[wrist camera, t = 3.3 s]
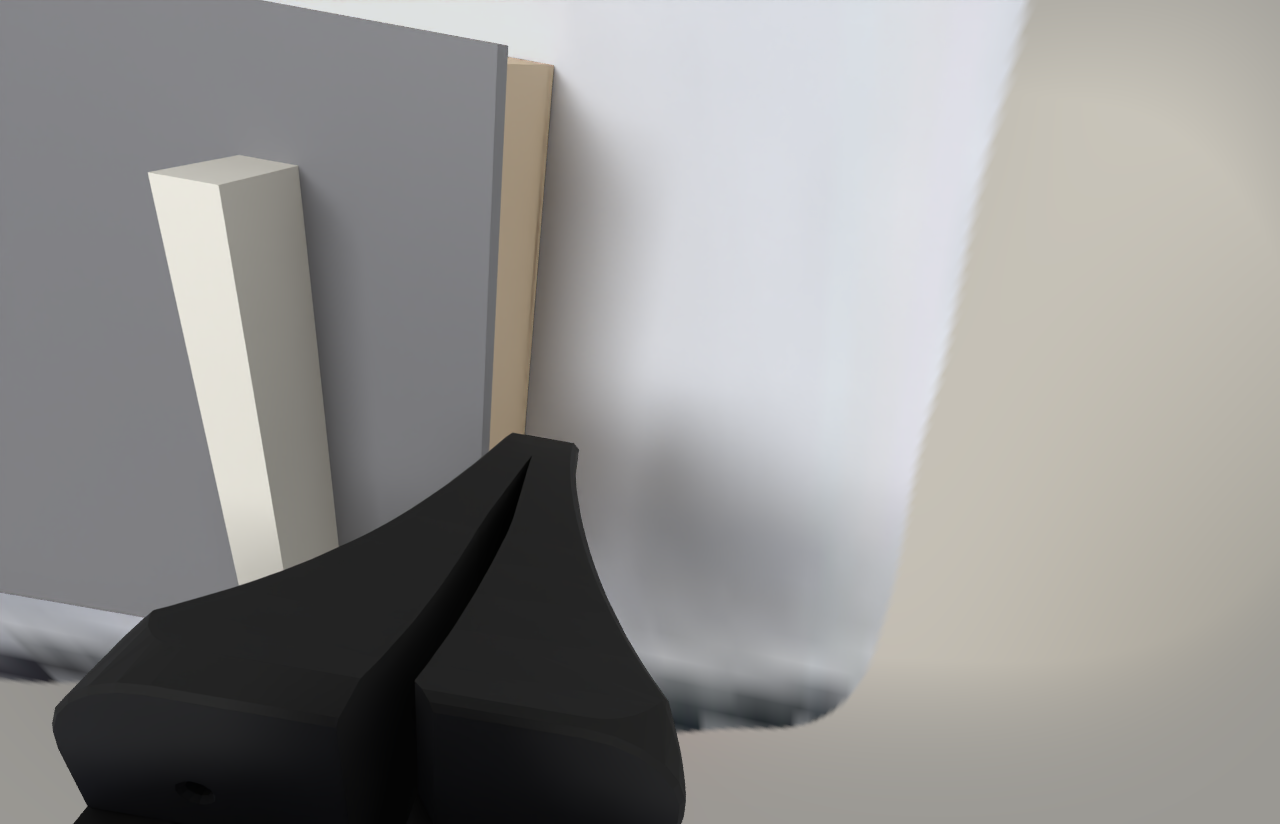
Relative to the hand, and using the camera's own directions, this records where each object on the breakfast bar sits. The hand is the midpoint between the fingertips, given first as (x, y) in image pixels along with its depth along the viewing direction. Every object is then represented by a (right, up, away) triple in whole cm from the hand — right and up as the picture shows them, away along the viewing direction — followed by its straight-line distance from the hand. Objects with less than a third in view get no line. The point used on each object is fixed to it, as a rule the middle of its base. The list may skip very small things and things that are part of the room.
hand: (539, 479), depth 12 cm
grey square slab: (-9, +3, +3) cm, 10 cm away
